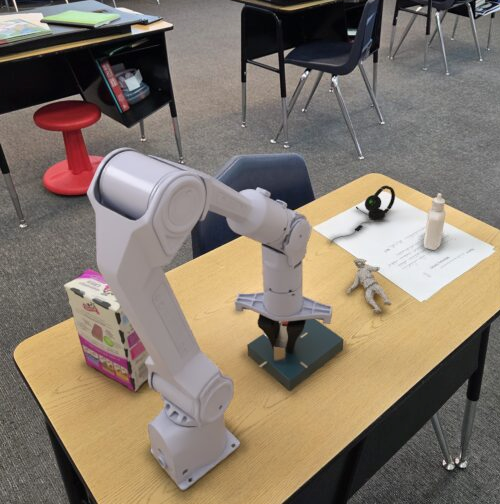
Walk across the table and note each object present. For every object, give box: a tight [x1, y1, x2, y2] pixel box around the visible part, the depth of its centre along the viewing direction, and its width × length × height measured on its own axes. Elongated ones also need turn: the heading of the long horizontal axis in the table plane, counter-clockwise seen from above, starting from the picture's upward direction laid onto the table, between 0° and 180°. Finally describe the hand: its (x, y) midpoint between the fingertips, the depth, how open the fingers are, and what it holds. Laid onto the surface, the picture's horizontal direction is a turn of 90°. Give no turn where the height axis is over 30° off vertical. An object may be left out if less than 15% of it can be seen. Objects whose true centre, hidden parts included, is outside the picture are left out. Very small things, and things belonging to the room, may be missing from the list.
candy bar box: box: [63, 268, 149, 393], centre depth 82 cm, size 11×5×16 cm, turn 59°
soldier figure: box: [346, 258, 392, 314], centre depth 100 cm, size 8×5×12 cm
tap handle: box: [274, 321, 289, 365], centre depth 85 cm, size 6×2×4 cm, turn 168°
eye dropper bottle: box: [423, 192, 446, 251], centre depth 112 cm, size 4×6×12 cm
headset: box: [330, 185, 396, 243], centre depth 121 cm, size 7×7×20 cm
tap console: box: [246, 319, 344, 392], centre depth 87 cm, size 14×10×3 cm
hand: (284, 347), depth 86 cm, fingers closed on tap handle, 2 cm apart
